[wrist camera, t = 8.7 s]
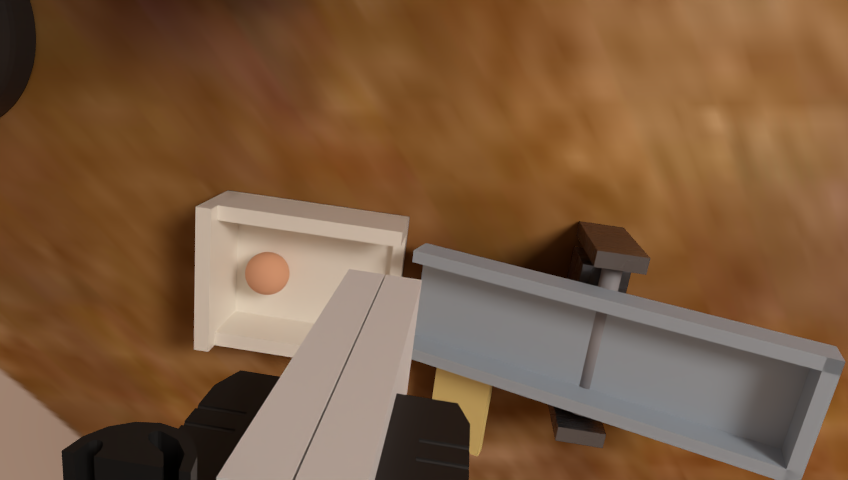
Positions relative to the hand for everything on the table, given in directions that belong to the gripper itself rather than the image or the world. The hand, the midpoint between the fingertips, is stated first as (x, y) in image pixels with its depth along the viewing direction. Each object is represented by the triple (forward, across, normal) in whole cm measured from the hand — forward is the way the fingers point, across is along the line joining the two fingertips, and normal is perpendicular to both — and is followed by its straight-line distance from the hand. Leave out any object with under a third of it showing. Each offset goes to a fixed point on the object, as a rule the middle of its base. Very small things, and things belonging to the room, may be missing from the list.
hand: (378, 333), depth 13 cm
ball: (+27, -11, -10) cm, 30 cm away
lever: (+24, +11, -13) cm, 29 cm away
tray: (+28, -8, -10) cm, 31 cm away
